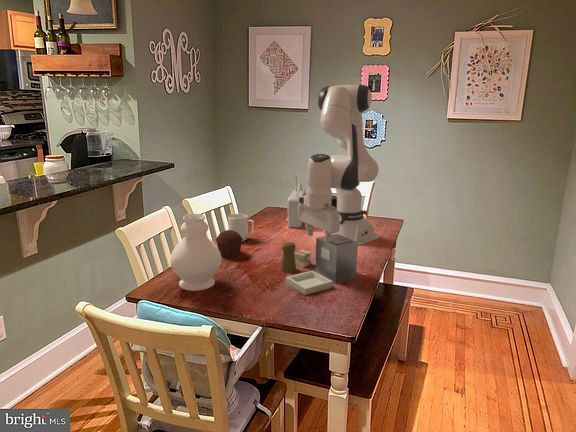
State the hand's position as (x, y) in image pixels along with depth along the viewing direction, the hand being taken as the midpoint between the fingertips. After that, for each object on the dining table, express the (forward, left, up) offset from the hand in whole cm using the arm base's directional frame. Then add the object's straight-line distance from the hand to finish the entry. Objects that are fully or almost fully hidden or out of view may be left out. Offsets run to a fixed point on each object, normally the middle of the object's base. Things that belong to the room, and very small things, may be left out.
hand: (317, 238), depth 172 cm
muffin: (+14, -42, -16) cm, 47 cm away
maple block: (-5, -16, -16) cm, 23 cm away
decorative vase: (+38, -21, -16) cm, 46 cm away
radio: (-36, -65, -16) cm, 76 cm away
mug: (+1, -56, -16) cm, 58 cm away
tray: (+5, +2, -16) cm, 17 cm away
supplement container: (-56, -62, -16) cm, 85 cm away
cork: (+3, -14, -16) cm, 22 cm away
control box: (-9, 0, -16) cm, 18 cm away
